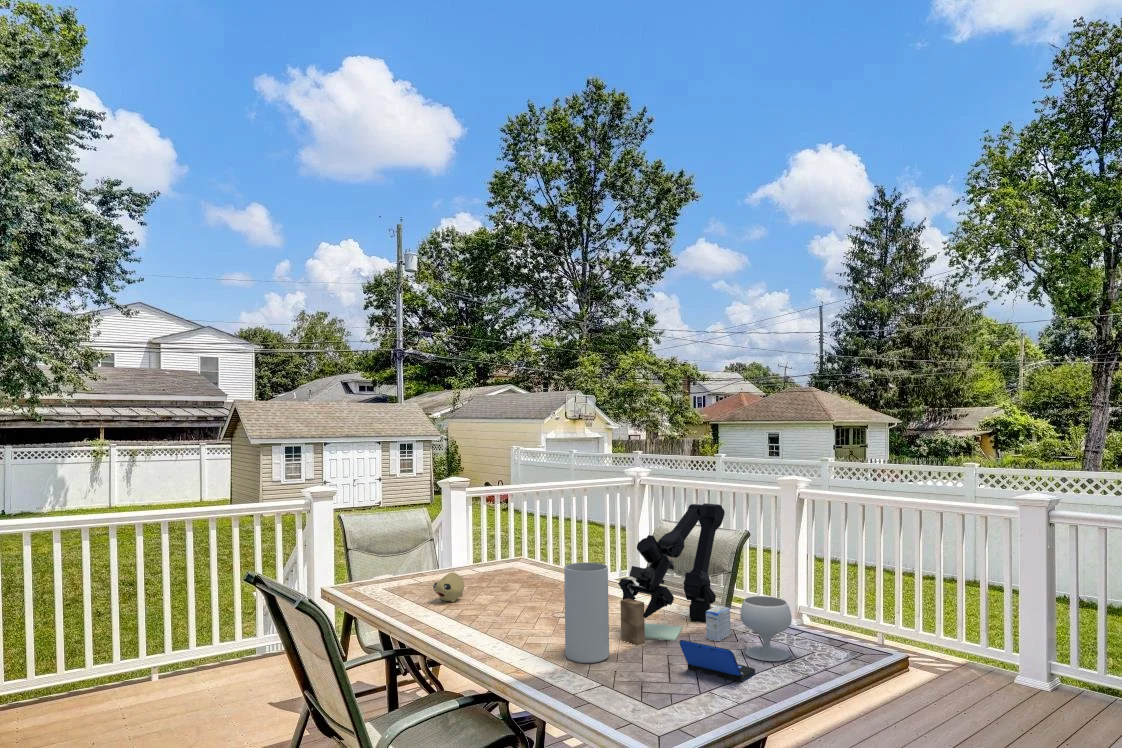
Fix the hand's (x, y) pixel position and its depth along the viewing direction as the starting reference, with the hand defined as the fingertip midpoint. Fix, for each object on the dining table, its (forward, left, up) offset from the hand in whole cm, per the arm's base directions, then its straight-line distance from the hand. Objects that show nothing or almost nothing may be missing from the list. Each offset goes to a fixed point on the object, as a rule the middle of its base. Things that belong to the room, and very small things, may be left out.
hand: (632, 614), depth 203 cm
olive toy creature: (+78, -25, -8) cm, 82 cm away
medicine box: (-24, -12, -8) cm, 28 cm away
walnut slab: (0, 0, -8) cm, 8 cm away
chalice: (-39, 0, -8) cm, 40 cm away
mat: (-4, -11, -8) cm, 14 cm away
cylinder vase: (+9, +17, -8) cm, 21 cm away
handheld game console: (-28, +19, -9) cm, 35 cm away
